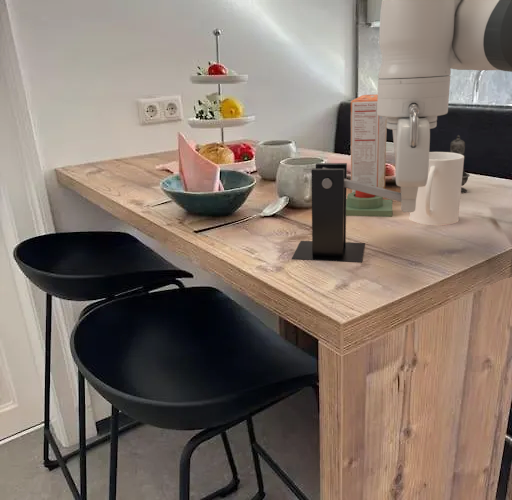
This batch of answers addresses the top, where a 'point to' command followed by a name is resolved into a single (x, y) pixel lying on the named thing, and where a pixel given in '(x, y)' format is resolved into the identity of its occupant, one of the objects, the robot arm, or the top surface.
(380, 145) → the cracker box
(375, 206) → the button block
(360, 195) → the button
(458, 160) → the mug
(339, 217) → the lever bracket
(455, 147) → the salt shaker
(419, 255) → the top surface
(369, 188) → the press lever
